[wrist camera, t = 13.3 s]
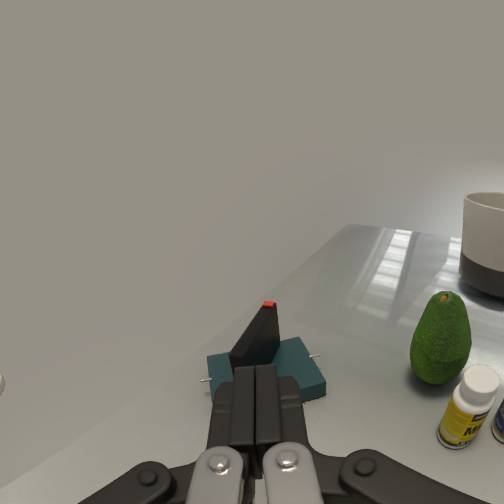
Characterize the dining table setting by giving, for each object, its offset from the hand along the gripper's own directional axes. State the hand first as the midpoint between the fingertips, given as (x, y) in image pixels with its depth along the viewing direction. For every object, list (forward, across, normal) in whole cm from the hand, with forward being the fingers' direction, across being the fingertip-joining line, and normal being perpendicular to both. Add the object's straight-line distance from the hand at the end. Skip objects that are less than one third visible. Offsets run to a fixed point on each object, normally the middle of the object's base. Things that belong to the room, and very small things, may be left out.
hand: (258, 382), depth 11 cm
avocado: (+16, -20, +20) cm, 32 cm away
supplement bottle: (+6, -19, +20) cm, 28 cm away
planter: (+32, -46, +20) cm, 60 cm away
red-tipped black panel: (+20, +1, +17) cm, 27 cm away
